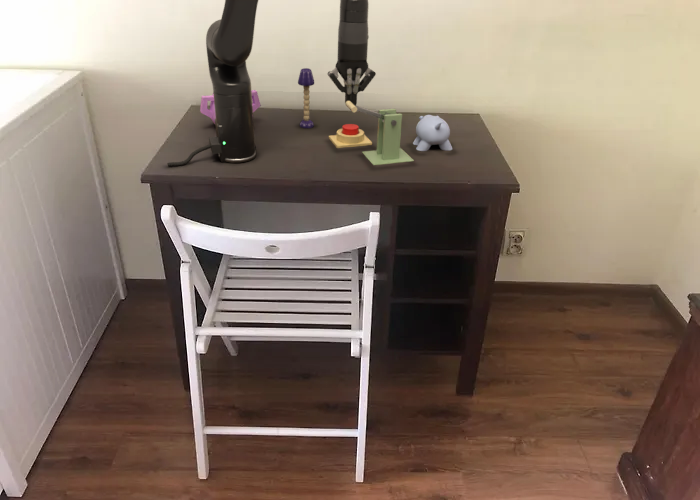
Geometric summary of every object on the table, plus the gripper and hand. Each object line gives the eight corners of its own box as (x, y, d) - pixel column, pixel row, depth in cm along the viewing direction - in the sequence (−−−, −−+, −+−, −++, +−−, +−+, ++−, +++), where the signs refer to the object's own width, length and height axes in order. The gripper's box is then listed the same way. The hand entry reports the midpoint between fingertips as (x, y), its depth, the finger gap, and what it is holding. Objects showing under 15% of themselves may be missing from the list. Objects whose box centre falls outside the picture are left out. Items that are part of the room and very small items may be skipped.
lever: (350, 113, 143) (353, 104, 142) (343, 107, 147) (347, 98, 146) (396, 128, 148) (400, 119, 148) (389, 122, 153) (392, 113, 152)
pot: (194, 121, 177) (190, 81, 171) (250, 113, 184) (248, 75, 178) (211, 141, 164) (207, 99, 158) (271, 132, 171) (269, 91, 165)
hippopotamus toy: (442, 136, 171) (446, 104, 166) (457, 156, 158) (461, 121, 153) (405, 137, 170) (408, 104, 165) (417, 157, 157) (420, 122, 152)
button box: (336, 151, 159) (337, 138, 158) (328, 141, 166) (328, 128, 164) (372, 148, 162) (372, 135, 160) (362, 138, 169) (363, 125, 167)
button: (345, 136, 160) (345, 129, 159) (340, 131, 164) (340, 124, 163) (360, 135, 161) (360, 128, 160) (355, 130, 165) (355, 123, 164)
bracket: (373, 169, 150) (375, 119, 143) (361, 155, 157) (363, 108, 151) (413, 164, 153) (417, 116, 146) (400, 152, 160) (403, 105, 154)
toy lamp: (317, 127, 175) (317, 70, 166) (303, 130, 173) (303, 72, 164) (309, 122, 178) (308, 66, 170) (295, 125, 176) (294, 68, 168)
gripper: (372, 35, 155) (369, 101, 163) (323, 37, 151) (322, 104, 160) (382, 41, 148) (378, 110, 157) (331, 43, 145) (330, 113, 154)
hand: (350, 107), depth 158 cm, fingers closed
